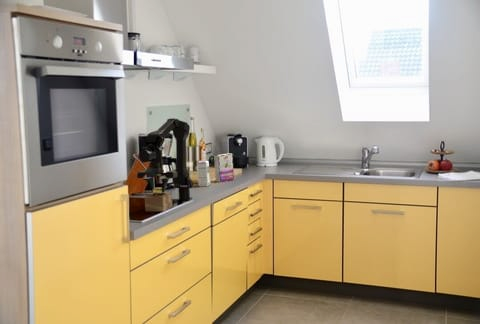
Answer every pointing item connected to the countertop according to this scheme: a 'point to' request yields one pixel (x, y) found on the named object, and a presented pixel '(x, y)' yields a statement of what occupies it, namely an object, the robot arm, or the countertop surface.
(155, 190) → the token
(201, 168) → the syrup box
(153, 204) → the money box
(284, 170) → the countertop surface
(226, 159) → the candy bar box
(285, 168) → the countertop surface
